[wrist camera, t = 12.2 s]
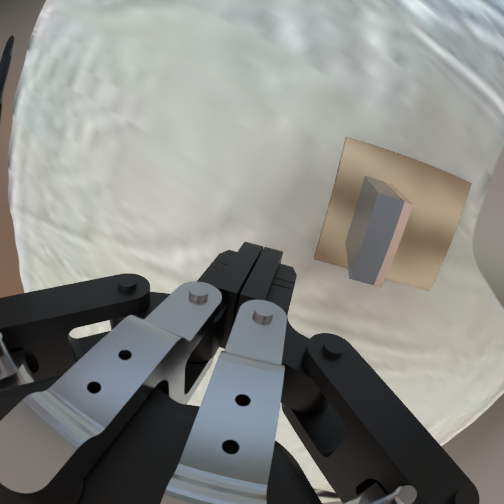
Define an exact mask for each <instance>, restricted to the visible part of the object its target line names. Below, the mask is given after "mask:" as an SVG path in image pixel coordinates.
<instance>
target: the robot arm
mask: <svg viewBox="0 0 504 504" xmlns="http://www.w3.org/2000/svg"><path fill="white" fill-rule="evenodd" d="M282 255H283V252H282V251H278V250H275V249H271V248H267V247H265V248H264V249H263V246H259V245H256V244H252V243H248V242H244V244H243V245H242V246H241V248H240V249H239V251H238V252H235V251H231V250H227V251H225V252H223V253H220V254H219V255H218V256H217V257H216V259H215V260H214V262H212V263H211V265H210V267H208V268H207V270H206V271H205V272H204V273H203V274H202V276H201V277H200V278H199V279H198V281H197V282H188V283H184V284H182V285H180V286H179V287H178V288H177V289H176V290H175V291H174V292H172V293H171V294H165V293H157V292H150V284H149V282H148V280H147V279H145V278H144V277H142V276H140V275H137V274H120V275H114V276H109V277H104V278H99V279H94V280H89V281H84V282H79V283H74V284H68V285H63V286H58V287H53V288H48V289H43V290H38V291H33V292H28V293H23V294H18V295H13V296H8V297H3V298H0V504H322V503H321V501H320V499H319V498H318V496H317V494H316V493H315V491H314V489H313V488H312V486H311V484H310V483H309V481H308V479H307V478H306V476H305V474H304V472H303V471H302V469H301V467H300V466H299V464H298V462H297V461H296V460H295V459H294V457H293V456H292V455H291V454H290V453H289V452H288V451H287V450H286V449H285V448H284V447H283V446H282V445H280V444H279V443H278V442H277V441H275V437H276V430H277V424H278V417H279V410H280V403H282V410H283V412H284V414H285V416H286V417H287V419H288V420H289V422H290V424H291V425H292V427H293V428H294V430H295V432H296V433H297V435H298V436H299V438H300V440H301V441H302V443H303V444H304V446H305V447H306V449H307V450H308V452H309V454H310V455H311V457H312V458H313V460H314V461H315V463H316V464H317V466H318V467H319V469H320V470H321V472H322V473H323V475H324V476H325V478H326V479H327V481H328V482H329V484H330V485H331V486H332V488H333V489H334V491H335V492H336V494H337V495H338V497H339V498H340V499H341V501H342V502H343V503H344V504H479V495H478V491H477V489H476V487H475V485H474V484H473V483H472V482H471V481H470V479H469V478H468V477H467V476H466V475H465V474H464V472H463V471H462V470H461V469H460V468H459V467H458V466H457V464H456V463H455V462H454V461H453V460H452V458H451V457H450V456H449V455H448V454H447V453H446V452H445V451H444V449H443V448H442V447H441V446H440V445H439V444H438V442H437V441H436V440H435V439H434V438H433V437H432V436H431V434H430V433H429V432H428V431H427V430H426V429H425V428H424V426H423V425H422V424H421V423H420V422H419V421H418V420H417V418H416V417H415V416H414V415H413V414H412V413H411V412H410V410H409V409H408V408H407V407H406V406H405V405H404V404H403V403H402V401H401V400H400V399H399V398H398V397H397V396H396V395H395V394H394V392H393V391H392V390H391V389H390V388H389V387H388V386H387V385H386V383H385V382H384V381H383V380H382V379H381V378H380V377H379V376H378V374H377V373H376V372H375V371H374V370H373V369H372V368H371V367H370V365H369V364H368V363H367V362H366V361H365V360H364V359H363V358H362V357H361V355H360V354H359V353H358V352H357V351H356V350H355V349H354V348H353V347H352V345H351V344H350V343H349V342H347V341H346V340H345V339H343V338H341V337H339V336H337V335H334V334H328V333H321V334H317V335H314V336H313V337H311V338H310V339H309V338H307V337H305V336H303V335H301V334H300V333H298V332H297V331H295V330H294V329H293V328H292V326H291V325H290V324H289V322H288V318H287V314H288V310H289V306H290V301H291V297H292V293H293V289H294V284H295V280H296V276H297V275H296V273H295V271H294V269H293V267H290V266H286V265H283V264H280V263H281V259H282ZM107 320H110V324H111V331H108V332H104V333H100V334H96V335H92V336H87V337H83V338H79V339H75V338H72V337H70V336H69V333H70V331H71V330H72V329H74V328H77V327H81V326H85V325H90V324H94V323H98V322H102V321H107ZM219 347H221V348H224V349H225V350H224V351H221V353H220V355H219V357H218V360H217V363H216V365H215V368H214V371H213V373H212V376H211V379H210V381H209V384H208V387H207V389H206V392H205V395H204V398H203V400H202V403H201V406H200V407H199V406H192V405H187V403H188V401H189V400H190V398H191V396H192V395H193V393H194V392H195V390H196V389H197V387H198V385H199V384H200V382H201V381H202V379H203V378H204V376H205V374H206V373H207V371H208V370H209V368H210V366H211V365H212V363H213V358H214V355H215V354H216V352H217V350H218V348H219Z"/></svg>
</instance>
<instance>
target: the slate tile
mask: <svg viewBox="0 0 504 504" xmlns="http://www.w3.org/2000/svg"><path fill="white" fill-rule="evenodd" d="M412 206H413V204H412V203H411V202H410V201H409V200H408V199H407V198H406V197H405V196H404V195H403V194H402V193H400V192H399V191H398V190H397V189H396V188H395V187H394V186H393V185H392V184H389V183H386V182H383V181H380V180H377V179H374V178H370V177H367V176H365V177H364V180H363V184H362V188H361V191H360V195H359V198H358V202H357V205H356V209H355V212H354V215H353V218H352V222H351V225H350V228H349V231H348V235H347V238H346V241H345V245H346V252H347V261H348V269H349V279H353V280H357V281H360V282H364V283H368V284H371V285H375V286H379V287H382V285H383V283H384V281H385V278H386V276H387V273H388V271H389V269H390V266H391V264H392V261H393V259H394V256H395V254H396V251H397V249H398V246H399V243H400V241H401V238H402V235H403V232H404V230H405V227H406V224H407V221H408V218H409V215H410V212H411V209H412Z"/></svg>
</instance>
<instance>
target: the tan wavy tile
mask: <svg viewBox="0 0 504 504" xmlns="http://www.w3.org/2000/svg"><path fill="white" fill-rule="evenodd" d="M365 176H367V177H370V178H374V179H377V180H380V181H383V182H386V183H389V184H392V185H393V186H394V187H395V188H396V189H397V190H398V191H399V192H400V193H402V194H403V195H404V196H405V197H406V198H407V199H408V200H409V201H410V202H411V203H412V204H413V206H412V209H411V212H410V215H409V218H408V221H407V224H406V227H405V230H404V232H403V235H402V238H401V241H400V243H399V246H398V249H397V251H396V254H395V256H394V259H393V261H392V264H391V266H390V269H389V271H388V273H387V276H386V278H385V279H388V280H391V281H395V282H399V283H402V284H406V285H409V286H413V287H416V288H420V289H423V290H427V291H429V290H430V288H431V286H432V284H433V282H434V280H435V278H436V276H437V274H438V271H439V269H440V267H441V265H442V262H443V260H444V258H445V255H446V253H447V251H448V248H449V246H450V243H451V241H452V238H453V236H454V233H455V230H456V228H457V225H458V222H459V220H460V217H461V214H462V211H463V208H464V205H465V202H466V199H467V196H468V193H469V189H470V186H471V183H469V182H467V181H465V180H463V179H461V178H458V177H456V176H454V175H452V174H449V173H447V172H444V171H442V170H440V169H437V168H435V167H432V166H430V165H427V164H425V163H422V162H420V161H417V160H414V159H412V158H409V157H406V156H403V155H400V154H398V153H395V152H392V151H389V150H386V149H383V148H380V147H377V146H374V145H370V144H367V143H364V142H361V141H357V140H354V139H350V138H347V137H346V139H345V143H344V147H343V152H342V156H341V160H340V164H339V168H338V172H337V176H336V180H335V184H334V188H333V192H332V196H331V199H330V203H329V207H328V211H327V214H326V218H325V221H324V225H323V229H322V232H321V236H320V239H319V243H318V246H317V249H316V253H315V257H314V259H315V260H319V261H323V262H326V263H330V264H334V265H337V266H341V267H345V268H348V261H347V252H346V245H345V241H346V238H347V235H348V231H349V228H350V225H351V222H352V218H353V215H354V212H355V209H356V205H357V202H358V198H359V195H360V191H361V188H362V184H363V180H364V177H365Z"/></svg>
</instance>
